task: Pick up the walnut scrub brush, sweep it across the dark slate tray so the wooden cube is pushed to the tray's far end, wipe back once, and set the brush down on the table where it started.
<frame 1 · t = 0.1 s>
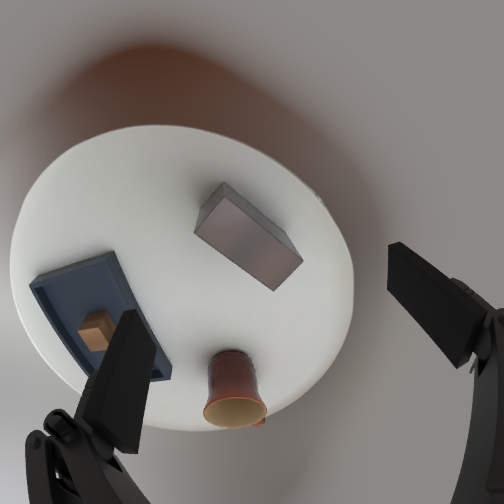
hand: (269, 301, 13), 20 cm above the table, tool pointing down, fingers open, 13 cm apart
mug: (236, 367, 43), on the table
tray: (102, 325, 37), on the table
wooden cube: (102, 323, 35), point 1 cm above the table, touching tray
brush: (244, 221, 33), on the table
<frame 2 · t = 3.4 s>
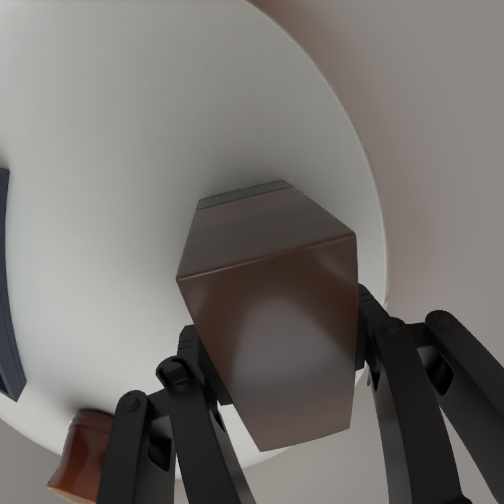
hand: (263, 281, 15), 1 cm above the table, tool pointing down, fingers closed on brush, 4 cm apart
mug: (111, 431, 22), on the table
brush: (261, 275, 15), on the table, touching gripper
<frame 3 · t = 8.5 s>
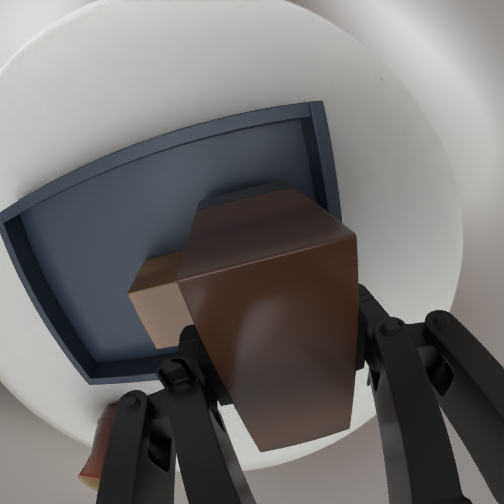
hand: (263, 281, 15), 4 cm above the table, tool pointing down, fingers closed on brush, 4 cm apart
mug: (124, 419, 25), on the table
tray: (168, 262, 18), on the table
wooden cube: (182, 279, 17), point 1 cm above the table, touching gripper, tray
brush: (262, 275, 15), point 3 cm above the table, touching gripper
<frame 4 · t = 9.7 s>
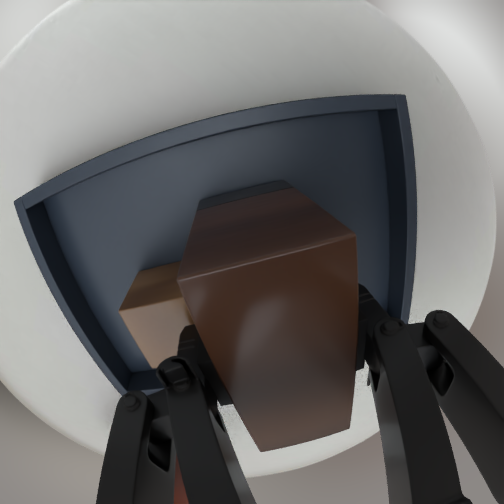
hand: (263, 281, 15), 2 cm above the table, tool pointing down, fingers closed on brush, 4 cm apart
mug: (152, 429, 24), on the table
tray: (230, 257, 16), on the table
wooden cube: (180, 292, 16), point 1 cm above the table, touching gripper
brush: (262, 275, 15), point 1 cm above the table, touching gripper
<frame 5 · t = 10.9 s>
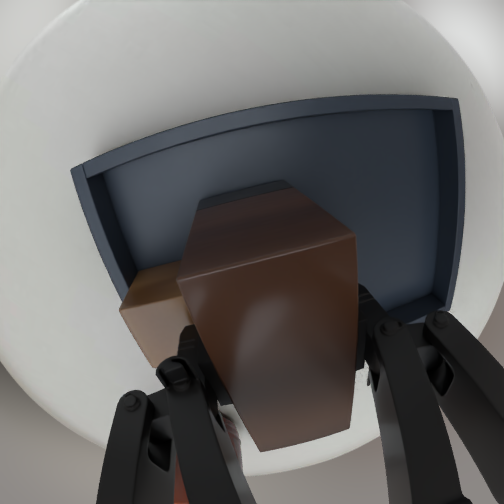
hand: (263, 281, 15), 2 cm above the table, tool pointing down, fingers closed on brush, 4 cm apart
mug: (190, 427, 24), on the table
tray: (305, 238, 16), on the table
wooden cube: (180, 291, 16), point 1 cm above the table, touching gripper, tray
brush: (261, 275, 15), point 1 cm above the table, touching gripper
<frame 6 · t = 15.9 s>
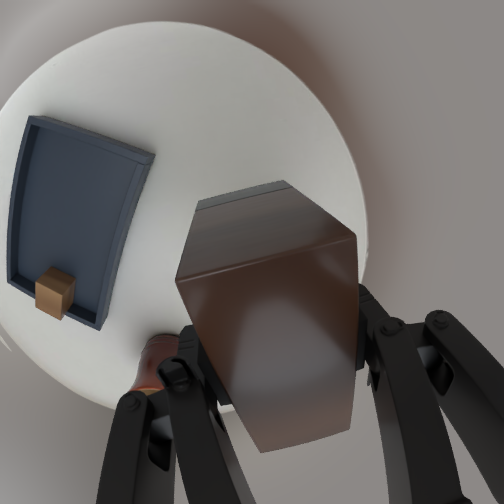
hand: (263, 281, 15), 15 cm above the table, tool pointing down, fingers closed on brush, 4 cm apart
mug: (171, 357, 35), on the table
tray: (67, 222, 26), on the table
wooden cube: (61, 284, 28), point 1 cm above the table, touching tray
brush: (261, 275, 15), point 14 cm above the table, touching gripper
when the fingers open (1 cm above the table, at t = 20.0 s): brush stays where it is, on the table.
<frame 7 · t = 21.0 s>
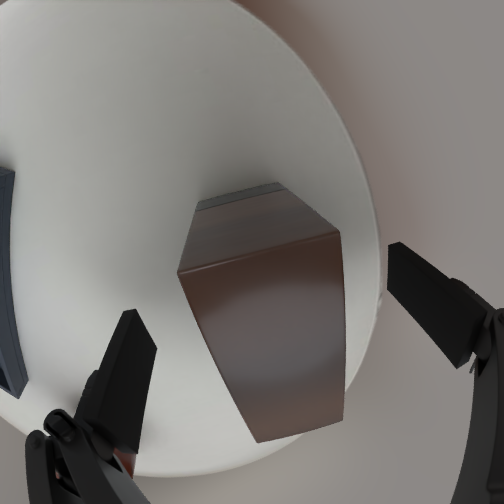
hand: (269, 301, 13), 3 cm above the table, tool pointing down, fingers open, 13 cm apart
mug: (112, 428, 22), on the table
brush: (258, 273, 16), on the table
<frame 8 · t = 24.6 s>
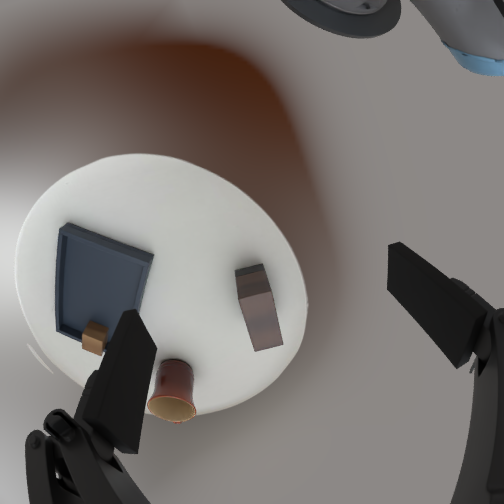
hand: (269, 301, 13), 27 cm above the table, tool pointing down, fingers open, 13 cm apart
mug: (177, 373, 50), on the table
tray: (99, 293, 41), on the table
wooden cube: (98, 331, 43), point 1 cm above the table, touching tray
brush: (255, 293, 44), on the table
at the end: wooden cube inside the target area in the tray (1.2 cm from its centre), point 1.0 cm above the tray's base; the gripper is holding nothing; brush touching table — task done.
